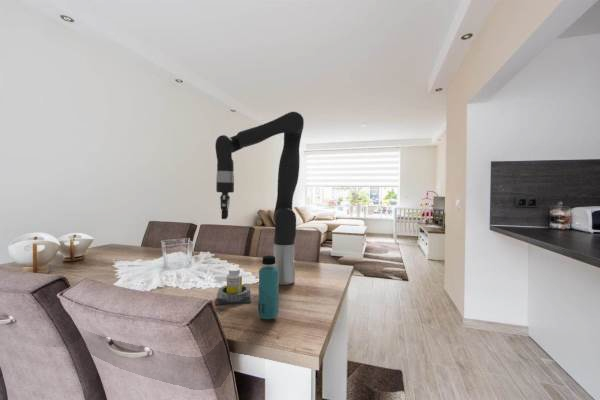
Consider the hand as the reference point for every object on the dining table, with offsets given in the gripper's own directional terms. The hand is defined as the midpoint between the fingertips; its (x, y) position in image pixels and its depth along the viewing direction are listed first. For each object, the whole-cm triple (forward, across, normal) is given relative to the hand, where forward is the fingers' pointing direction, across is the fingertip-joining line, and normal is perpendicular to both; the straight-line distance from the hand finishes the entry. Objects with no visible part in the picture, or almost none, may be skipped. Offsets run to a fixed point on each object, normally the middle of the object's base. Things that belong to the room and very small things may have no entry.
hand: (224, 218), depth 115 cm
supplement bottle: (+28, -20, -5) cm, 35 cm away
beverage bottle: (+28, -39, -16) cm, 51 cm away
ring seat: (+28, -20, -5) cm, 35 cm away
